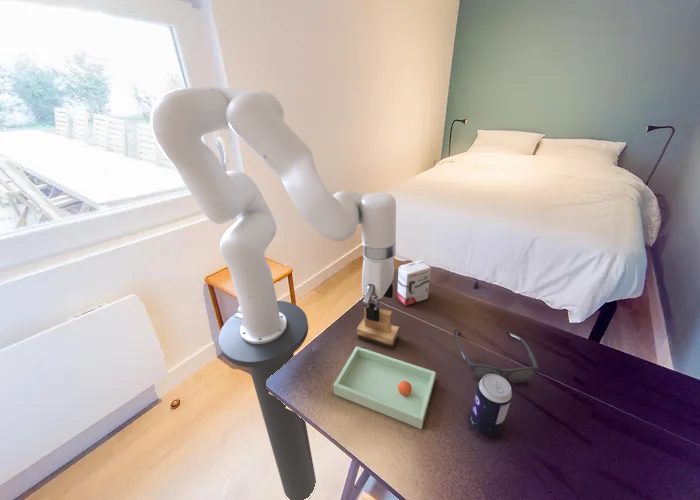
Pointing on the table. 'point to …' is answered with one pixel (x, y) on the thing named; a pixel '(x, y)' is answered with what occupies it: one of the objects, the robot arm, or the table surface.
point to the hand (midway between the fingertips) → (380, 307)
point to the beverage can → (491, 405)
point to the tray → (386, 385)
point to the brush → (379, 329)
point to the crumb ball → (404, 388)
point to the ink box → (413, 282)
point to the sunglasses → (513, 374)
